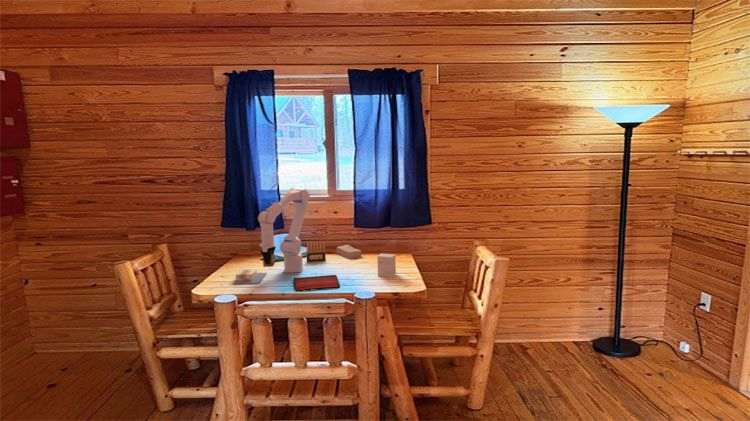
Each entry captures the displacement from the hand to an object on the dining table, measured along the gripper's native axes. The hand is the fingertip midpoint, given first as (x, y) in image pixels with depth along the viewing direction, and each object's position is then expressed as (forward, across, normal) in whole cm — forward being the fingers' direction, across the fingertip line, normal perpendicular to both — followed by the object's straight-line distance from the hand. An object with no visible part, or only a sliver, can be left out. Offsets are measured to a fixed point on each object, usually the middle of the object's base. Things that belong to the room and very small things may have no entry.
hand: (269, 262), depth 206 cm
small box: (+8, -2, +58) cm, 59 cm away
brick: (+9, -43, +38) cm, 58 cm away
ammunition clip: (+9, -31, +20) cm, 38 cm away
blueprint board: (+8, 0, -10) cm, 13 cm away
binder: (+9, +10, +24) cm, 28 cm away
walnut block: (+2, 0, 0) cm, 2 cm away
